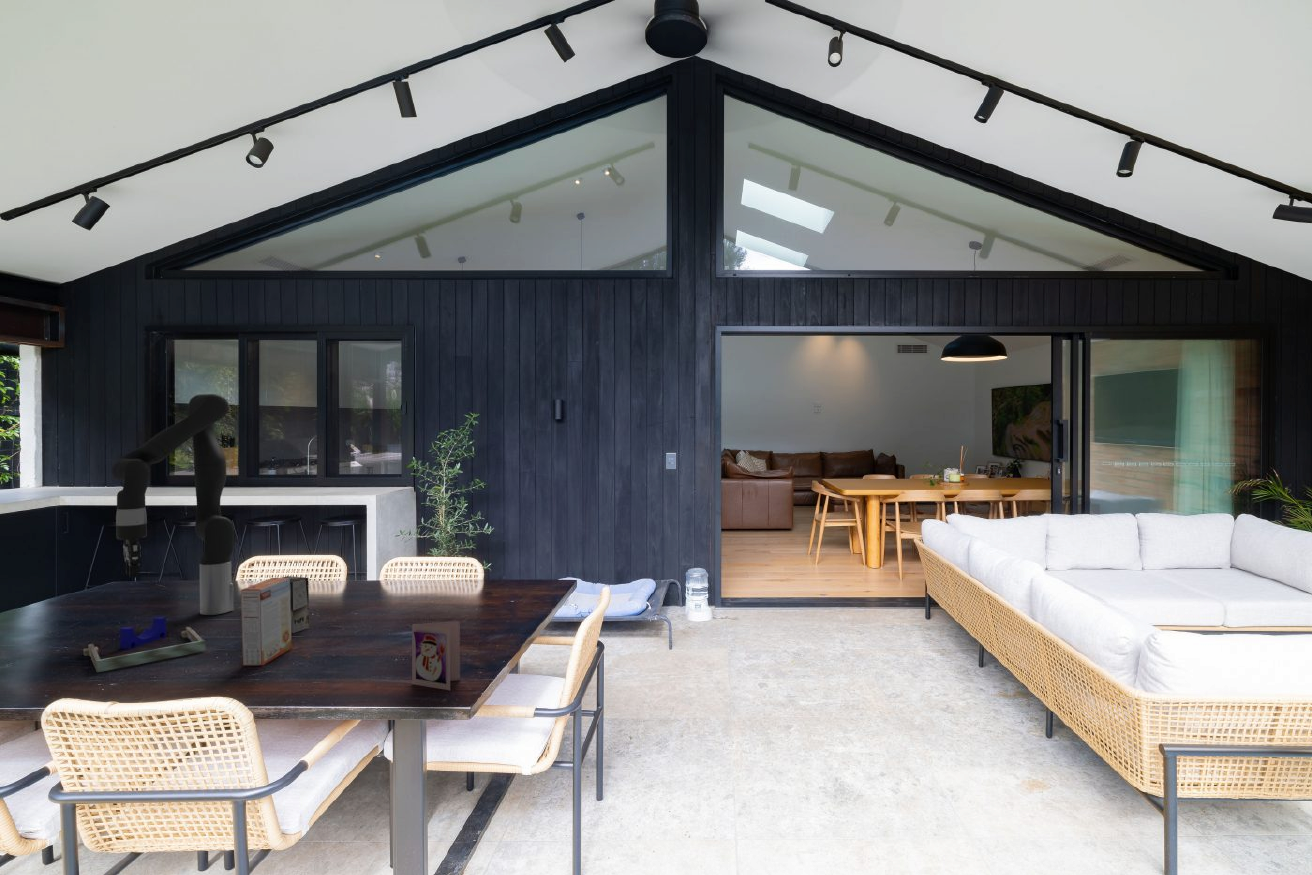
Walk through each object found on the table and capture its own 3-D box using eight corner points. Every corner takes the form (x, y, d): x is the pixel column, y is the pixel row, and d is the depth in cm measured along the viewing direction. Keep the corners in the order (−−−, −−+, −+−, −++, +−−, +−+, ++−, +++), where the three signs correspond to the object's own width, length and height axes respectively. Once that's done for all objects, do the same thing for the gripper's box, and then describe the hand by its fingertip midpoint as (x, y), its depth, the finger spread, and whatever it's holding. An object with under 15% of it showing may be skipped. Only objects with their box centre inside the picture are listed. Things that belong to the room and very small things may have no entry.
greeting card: (409, 685, 168) (409, 625, 168) (429, 674, 175) (429, 617, 175) (447, 691, 164) (447, 630, 164) (466, 680, 171) (466, 621, 171)
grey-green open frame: (192, 633, 210) (192, 623, 210) (209, 650, 194) (209, 639, 194) (83, 653, 191) (83, 642, 191) (92, 673, 176) (91, 661, 176)
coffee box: (310, 627, 216) (309, 577, 215) (293, 633, 210) (292, 581, 209) (288, 625, 219) (287, 575, 218) (271, 630, 213) (270, 579, 212)
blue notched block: (154, 636, 208) (153, 616, 208) (166, 637, 207) (166, 617, 207) (115, 648, 196) (115, 628, 196) (128, 649, 195) (128, 629, 195)
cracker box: (271, 649, 195) (271, 577, 195) (292, 649, 195) (291, 577, 195) (240, 666, 181) (239, 588, 181) (262, 666, 181) (261, 588, 181)
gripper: (150, 524, 208) (151, 577, 208) (142, 519, 218) (143, 570, 218) (119, 526, 203) (120, 581, 203) (113, 521, 213) (114, 574, 213)
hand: (132, 575), depth 211 cm, fingers open, 7 cm apart
